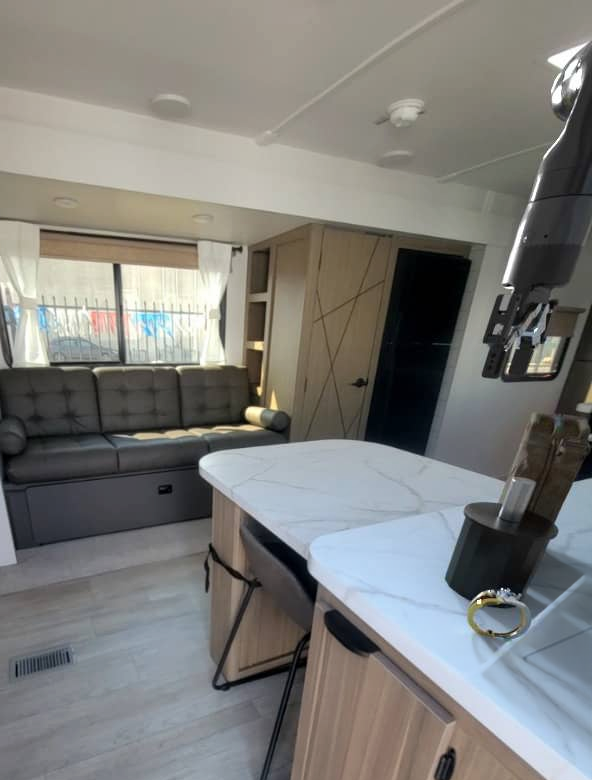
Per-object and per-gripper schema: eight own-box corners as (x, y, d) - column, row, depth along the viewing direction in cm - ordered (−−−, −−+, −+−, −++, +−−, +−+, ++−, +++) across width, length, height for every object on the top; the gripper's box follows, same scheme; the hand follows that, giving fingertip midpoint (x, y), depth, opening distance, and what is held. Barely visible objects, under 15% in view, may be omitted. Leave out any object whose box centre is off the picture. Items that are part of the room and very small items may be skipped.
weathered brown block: (487, 526, 86) (532, 408, 75) (536, 539, 82) (590, 415, 71) (476, 564, 73) (529, 426, 62) (534, 582, 68) (601, 437, 57)
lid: (483, 503, 68) (498, 462, 65) (568, 531, 59) (589, 486, 56) (447, 519, 62) (461, 475, 59) (535, 553, 53) (558, 504, 50)
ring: (460, 636, 56) (478, 589, 52) (459, 622, 58) (477, 576, 55) (520, 655, 53) (544, 606, 50) (517, 639, 56) (539, 592, 52)
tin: (463, 564, 73) (486, 501, 67) (531, 596, 65) (564, 527, 59) (431, 583, 67) (453, 516, 62) (501, 620, 59) (534, 546, 54)
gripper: (561, 234, 46) (510, 383, 53) (602, 248, 53) (552, 377, 60) (490, 242, 51) (452, 376, 58) (536, 254, 59) (497, 371, 66)
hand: (503, 376), depth 59 cm, fingers open, 8 cm apart
